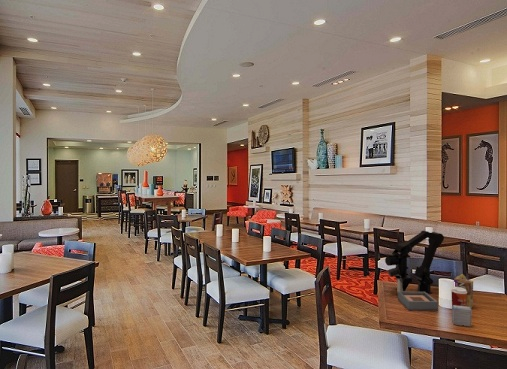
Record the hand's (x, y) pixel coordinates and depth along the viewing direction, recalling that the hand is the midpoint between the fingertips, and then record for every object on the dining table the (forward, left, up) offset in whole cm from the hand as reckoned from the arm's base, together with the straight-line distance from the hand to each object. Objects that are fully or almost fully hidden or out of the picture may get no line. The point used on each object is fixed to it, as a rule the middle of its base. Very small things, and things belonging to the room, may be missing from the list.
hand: (401, 289), depth 218 cm
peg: (0, 0, -3) cm, 3 cm away
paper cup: (-19, +30, -3) cm, 36 cm away
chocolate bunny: (-34, +6, -3) cm, 35 cm away
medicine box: (-14, +42, -3) cm, 44 cm away
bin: (-2, +18, -3) cm, 18 cm away
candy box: (-28, +18, -3) cm, 33 cm away
